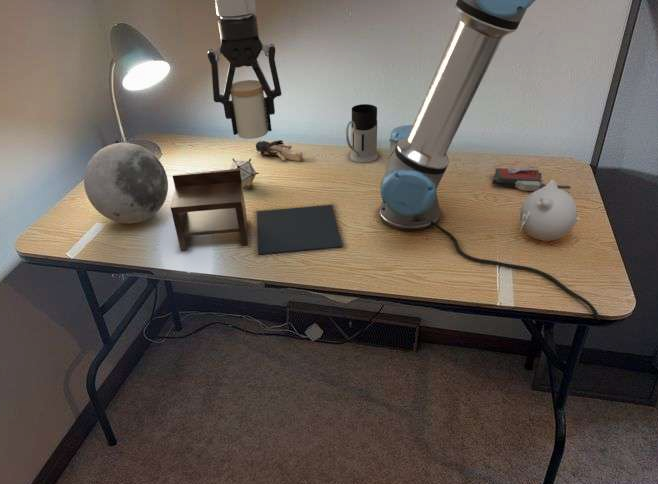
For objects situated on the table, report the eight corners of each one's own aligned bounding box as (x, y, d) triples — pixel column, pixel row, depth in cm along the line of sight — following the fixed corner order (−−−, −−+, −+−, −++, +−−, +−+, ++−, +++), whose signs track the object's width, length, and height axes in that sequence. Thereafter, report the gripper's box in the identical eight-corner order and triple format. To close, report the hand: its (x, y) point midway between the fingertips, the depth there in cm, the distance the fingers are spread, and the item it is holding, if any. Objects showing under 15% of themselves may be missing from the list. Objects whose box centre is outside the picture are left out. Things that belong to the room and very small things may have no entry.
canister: (268, 125, 121) (262, 78, 115) (269, 137, 116) (263, 89, 109) (236, 128, 121) (229, 81, 114) (236, 140, 115) (228, 92, 109)
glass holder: (383, 154, 168) (384, 106, 158) (359, 172, 159) (360, 122, 149) (358, 148, 172) (359, 101, 162) (334, 165, 163) (333, 116, 153)
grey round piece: (569, 259, 121) (583, 212, 113) (509, 246, 125) (519, 200, 118) (576, 227, 131) (590, 181, 123) (521, 216, 136) (531, 171, 128)
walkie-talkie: (492, 190, 147) (569, 194, 144) (494, 176, 144) (573, 179, 141) (489, 176, 154) (563, 179, 150) (492, 161, 151) (567, 164, 148)
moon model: (86, 239, 135) (59, 165, 122) (111, 200, 150) (89, 131, 138) (165, 237, 134) (146, 163, 122) (182, 198, 150) (166, 128, 138)
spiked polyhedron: (246, 201, 155) (238, 186, 145) (225, 184, 157) (215, 168, 147) (267, 178, 156) (259, 162, 146) (245, 162, 158) (237, 145, 148)
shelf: (247, 222, 139) (240, 168, 129) (247, 245, 130) (239, 189, 121) (184, 227, 137) (172, 174, 128) (180, 251, 129) (167, 196, 120)
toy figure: (305, 154, 171) (261, 148, 174) (305, 136, 166) (259, 130, 169) (299, 166, 166) (253, 160, 169) (298, 148, 161) (251, 142, 164)
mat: (331, 206, 143) (331, 204, 143) (342, 247, 128) (342, 245, 128) (256, 212, 142) (256, 211, 142) (258, 255, 127) (258, 253, 126)
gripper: (286, 7, 107) (295, 120, 121) (186, 15, 106) (208, 128, 120) (289, 15, 101) (298, 132, 115) (183, 24, 100) (206, 141, 114)
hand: (252, 130), depth 118 cm, fingers closed on canister, 7 cm apart
